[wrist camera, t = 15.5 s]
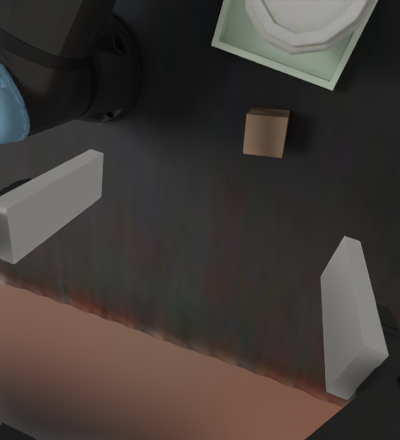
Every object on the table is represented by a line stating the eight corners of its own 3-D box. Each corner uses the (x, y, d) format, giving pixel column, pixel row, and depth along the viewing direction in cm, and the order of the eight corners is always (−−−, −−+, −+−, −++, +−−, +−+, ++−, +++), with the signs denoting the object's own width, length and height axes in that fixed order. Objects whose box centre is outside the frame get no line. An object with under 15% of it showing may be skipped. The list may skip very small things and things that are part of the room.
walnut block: (248, 143, 46) (242, 153, 42) (252, 107, 44) (246, 114, 39) (284, 146, 45) (281, 157, 41) (290, 110, 42) (288, 117, 38)
